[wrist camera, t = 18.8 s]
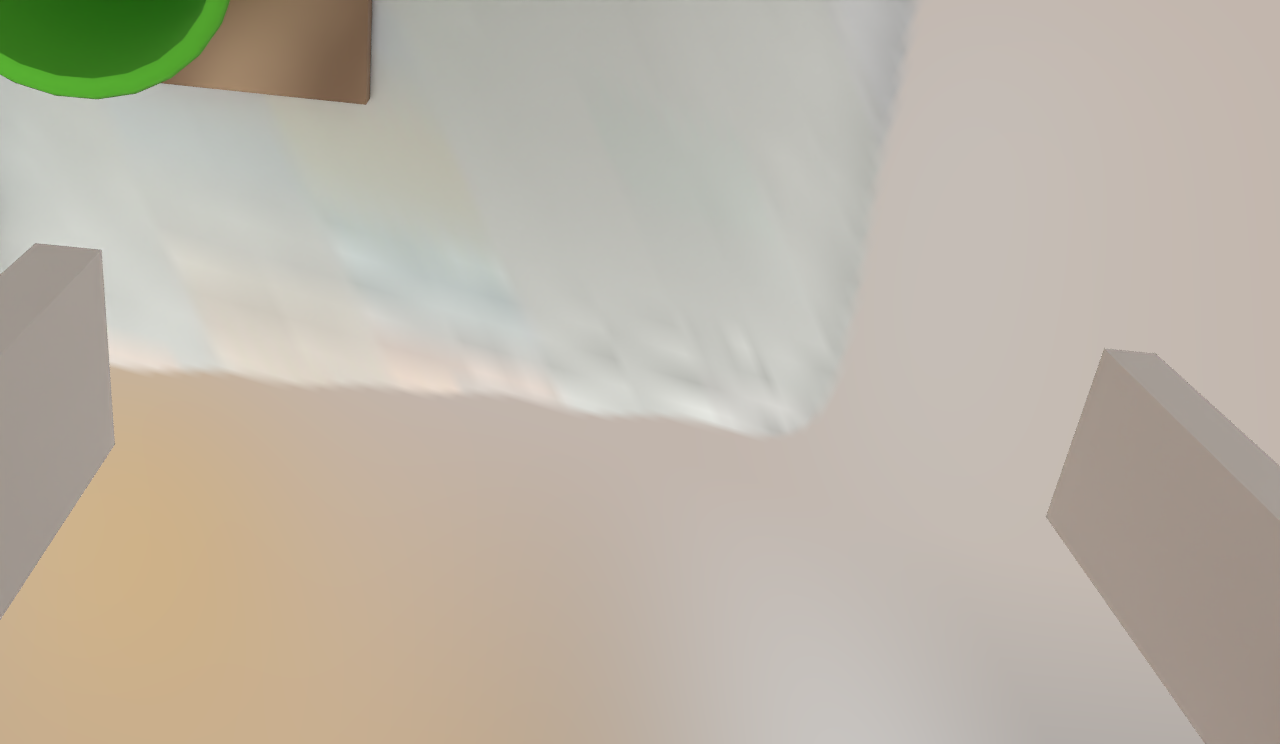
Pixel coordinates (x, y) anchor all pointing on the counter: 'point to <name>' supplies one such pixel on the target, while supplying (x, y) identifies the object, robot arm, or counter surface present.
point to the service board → (288, 50)
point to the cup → (102, 43)
